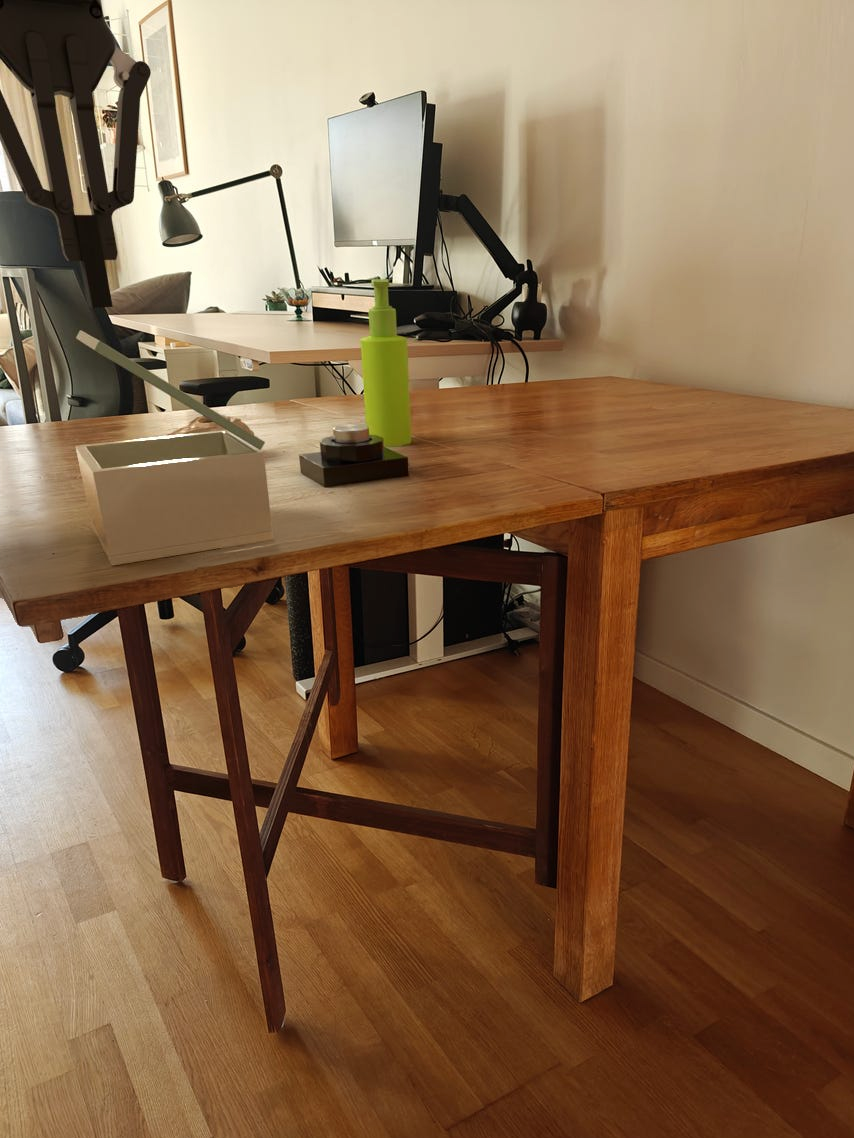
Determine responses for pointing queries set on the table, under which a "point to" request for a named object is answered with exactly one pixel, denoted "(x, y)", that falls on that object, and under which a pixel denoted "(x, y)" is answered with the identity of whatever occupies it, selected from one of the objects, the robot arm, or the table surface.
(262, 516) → the wooden box
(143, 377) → the box lid
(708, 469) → the table surface
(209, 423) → the pottery oil lamp
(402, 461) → the plate
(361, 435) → the silver push button
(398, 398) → the lime green bottle
